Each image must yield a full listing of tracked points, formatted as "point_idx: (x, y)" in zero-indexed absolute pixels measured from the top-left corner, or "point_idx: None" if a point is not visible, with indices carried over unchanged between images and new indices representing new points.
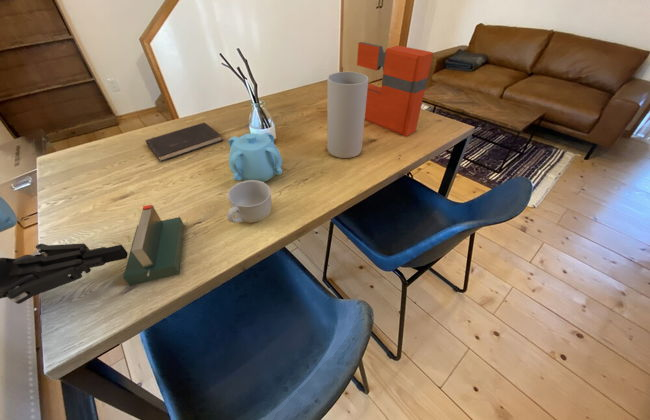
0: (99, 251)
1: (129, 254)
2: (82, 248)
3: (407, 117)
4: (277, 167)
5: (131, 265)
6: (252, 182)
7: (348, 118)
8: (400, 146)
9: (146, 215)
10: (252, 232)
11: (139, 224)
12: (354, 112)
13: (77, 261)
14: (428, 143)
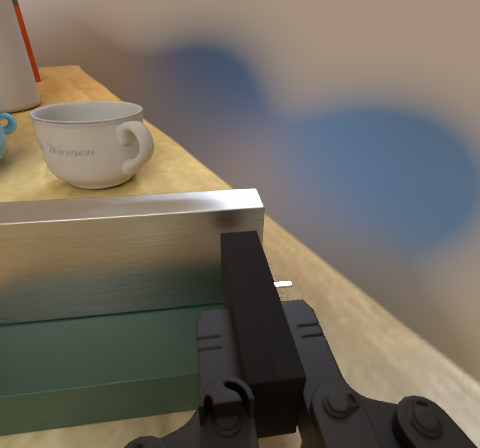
0: (253, 299)
1: (157, 377)
2: (224, 382)
3: (26, 49)
4: (2, 113)
5: None
6: (45, 112)
7: (8, 17)
8: (59, 85)
9: (35, 207)
10: (161, 180)
11: (91, 215)
12: (10, 5)
13: (343, 397)
14: (76, 77)
